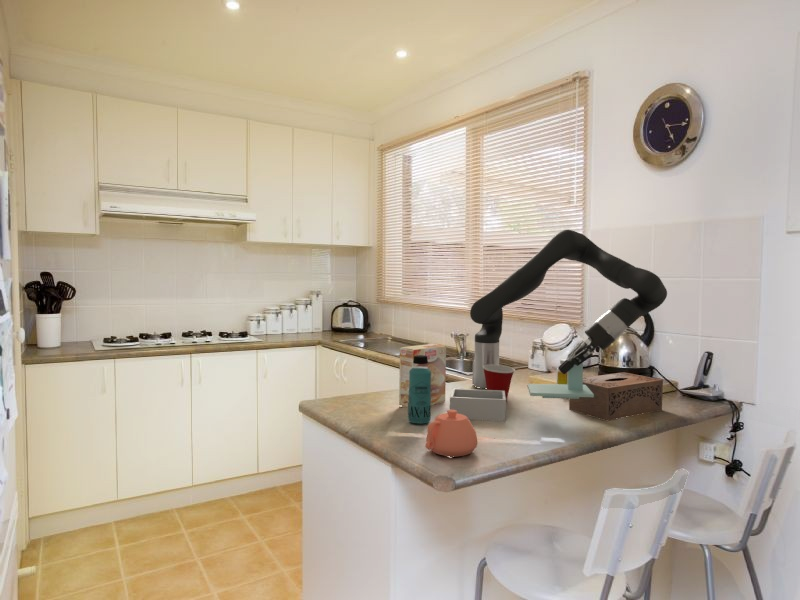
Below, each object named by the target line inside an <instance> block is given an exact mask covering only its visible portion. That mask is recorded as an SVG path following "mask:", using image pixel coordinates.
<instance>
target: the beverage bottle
mask: <svg viewBox="0 0 800 600" xmlns="http://www.w3.org/2000/svg"><path fill="white" fill-rule="evenodd" d="M413 363H415V364H427V363H428V358H427V356H425V355H416V356H414V360H413ZM408 393H409V396H408V400H409V404H408V407H407V408H408V409H407V415H408V416H407V419H408V421H409V422H410V423H413V424H426V423H430V421H431V416H432V405H431V371H430V369H429V368H427V367H413V368H412V369H411V370H410V371H409V392H408Z"/></svg>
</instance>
